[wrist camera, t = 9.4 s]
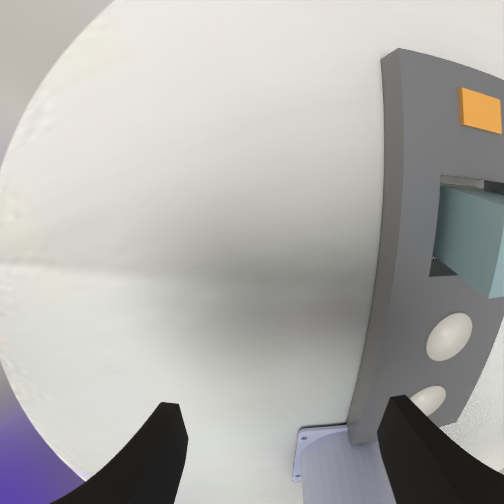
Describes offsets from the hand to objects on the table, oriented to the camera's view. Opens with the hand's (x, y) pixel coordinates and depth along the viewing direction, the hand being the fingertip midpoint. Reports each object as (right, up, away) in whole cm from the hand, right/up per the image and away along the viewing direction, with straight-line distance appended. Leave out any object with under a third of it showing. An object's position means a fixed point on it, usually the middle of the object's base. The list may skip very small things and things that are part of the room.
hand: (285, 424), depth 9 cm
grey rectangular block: (+11, +8, +7) cm, 15 cm away
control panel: (+11, +4, +8) cm, 15 cm away
